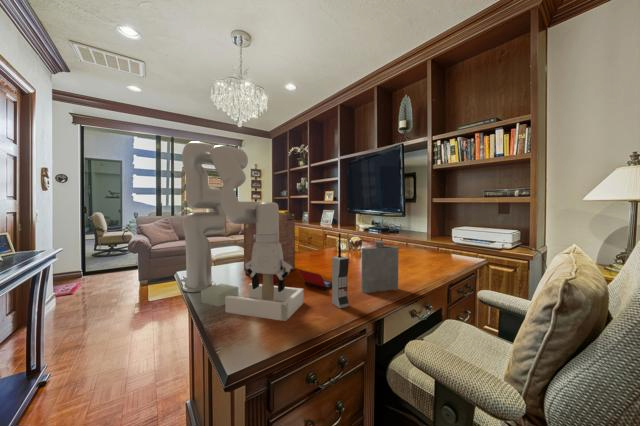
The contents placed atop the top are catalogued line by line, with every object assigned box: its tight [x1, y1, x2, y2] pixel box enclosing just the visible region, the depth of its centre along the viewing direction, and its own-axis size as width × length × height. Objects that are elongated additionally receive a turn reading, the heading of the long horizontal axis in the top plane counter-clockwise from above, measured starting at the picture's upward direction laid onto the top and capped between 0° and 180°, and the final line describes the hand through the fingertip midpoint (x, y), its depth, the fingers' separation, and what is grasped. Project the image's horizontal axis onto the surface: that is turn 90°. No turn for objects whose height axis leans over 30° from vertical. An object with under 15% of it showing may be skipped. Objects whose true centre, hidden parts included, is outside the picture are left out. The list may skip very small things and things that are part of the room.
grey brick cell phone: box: [331, 233, 350, 309], centre depth 88 cm, size 4×5×25 cm
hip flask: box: [360, 240, 400, 294], centre depth 104 cm, size 16×4×20 cm, turn 104°
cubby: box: [224, 282, 305, 322], centre depth 87 cm, size 22×15×5 cm
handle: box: [261, 274, 275, 301], centre depth 87 cm, size 5×6×15 cm
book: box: [243, 212, 296, 276], centre depth 134 cm, size 25×9×30 cm, turn 109°
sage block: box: [200, 283, 240, 307], centre depth 94 cm, size 9×9×4 cm
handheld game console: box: [299, 269, 332, 291], centre depth 110 cm, size 12×11×7 cm
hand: (268, 289), depth 87 cm, fingers open, 9 cm apart
